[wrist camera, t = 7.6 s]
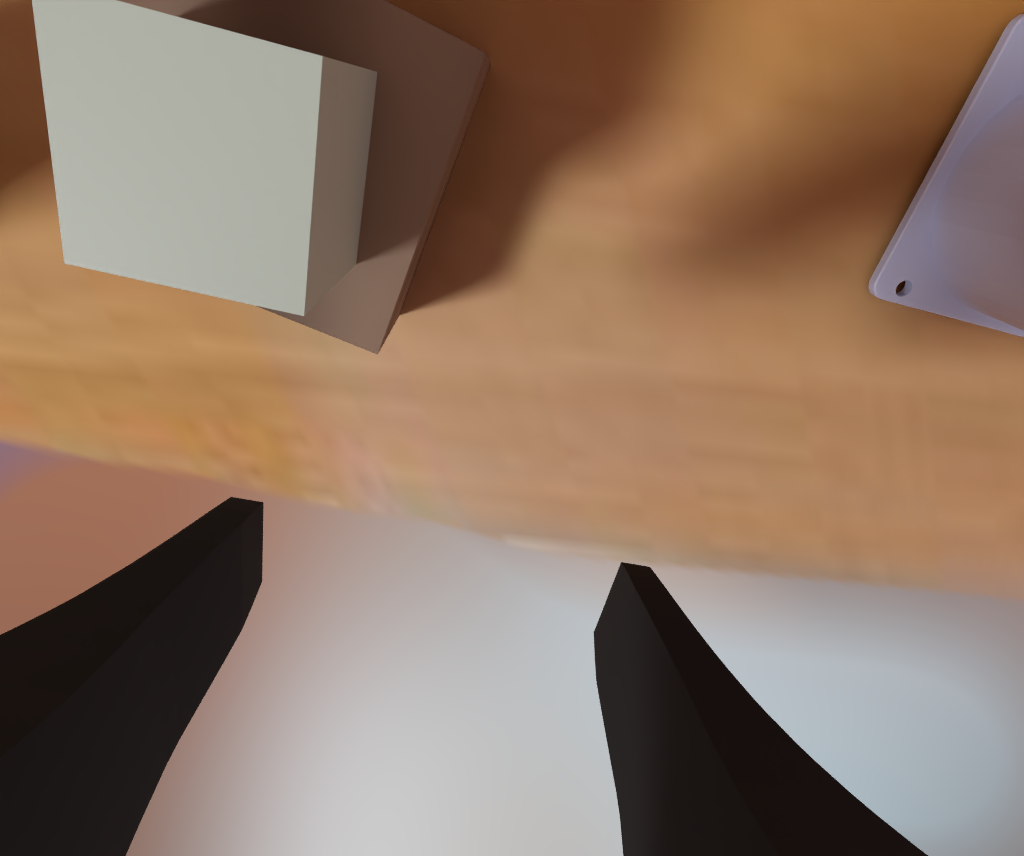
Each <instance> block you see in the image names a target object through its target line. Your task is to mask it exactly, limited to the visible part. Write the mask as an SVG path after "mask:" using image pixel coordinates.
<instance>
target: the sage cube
mask: <svg viewBox="0 0 1024 856" xmlns="http://www.w3.org/2000/svg"><path fill="white" fill-rule="evenodd" d="M32 6H33V14H34V22H35V30H36V38H37V46H38V54H39V62H40V70H41V78H42V86H43V94H44V102H45V110H46V119H47V127H48V135H49V143H50V151H51V159H52V167H53V175H54V183H55V191H56V199H57V207H58V215H59V223H60V231H61V240H62V248H63V256H64V263H65V264H70V265H74V266H79V267H83V268H88V269H92V270H97V271H101V272H106V273H110V274H115V275H120V276H124V277H129V278H133V279H138V280H142V281H147V282H151V283H156V284H160V285H165V286H169V287H174V288H178V289H183V290H187V291H192V292H197V293H201V294H206V295H210V296H215V297H219V298H224V299H228V300H233V301H237V302H242V303H246V304H251V305H255V306H260V307H264V308H269V309H273V310H278V311H283V312H287V313H292V314H296V315H301V316H305V315H306V314H307V313H308V312H309V311H310V310H311V309H312V308H313V307H314V306H315V305H316V304H317V303H318V302H319V301H320V300H321V299H322V298H323V297H324V296H325V295H326V294H327V293H328V292H329V291H330V290H331V289H332V288H333V287H334V286H335V285H336V284H337V283H338V282H339V281H340V280H341V279H342V278H343V277H344V276H345V275H346V274H347V273H348V272H349V271H350V270H351V269H352V268H353V267H354V266H355V265H356V262H357V253H358V244H359V235H360V226H361V217H362V208H363V199H364V190H365V181H366V172H367V163H368V153H369V144H370V135H371V126H372V117H373V108H374V99H375V90H376V81H377V72H376V71H373V70H369V69H366V68H362V67H359V66H355V65H352V64H348V63H345V62H341V61H338V60H334V59H331V58H327V57H324V56H320V55H317V54H313V53H309V52H306V51H302V50H298V49H295V48H291V47H287V46H283V45H280V44H276V43H272V42H269V41H265V40H261V39H258V38H254V37H250V36H247V35H243V34H239V33H236V32H232V31H228V30H224V29H221V28H217V27H213V26H210V25H206V24H202V23H199V22H195V21H191V20H188V19H184V18H180V17H177V16H173V15H169V14H165V13H162V12H158V11H154V10H151V9H147V8H143V7H140V6H136V5H132V4H129V3H125V2H121V1H118V0H32Z"/></svg>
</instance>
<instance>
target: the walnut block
mask: <svg viewBox="0 0 1024 856" xmlns="http://www.w3.org/2000/svg"><path fill="white" fill-rule="evenodd" d="M118 1H121V2H125V3H129V4H132V5H136V6H140V7H143V8H147V9H151V10H154V11H158V12H162V13H165V14H169V15H173V16H177V17H180V18H184V19H188V20H191V21H195V22H199V23H202V24H206V25H210V26H213V27H217V28H221V29H224V30H228V31H232V32H236V33H239V34H243V35H247V36H250V37H254V38H258V39H261V40H265V41H269V42H272V43H276V44H280V45H283V46H287V47H291V48H295V49H298V50H302V51H306V52H309V53H313V54H317V55H320V56H324V57H327V58H331V59H334V60H338V61H341V62H345V63H348V64H352V65H355V66H359V67H362V68H366V69H369V70H373V71H376V72H377V81H376V90H375V99H374V108H373V117H372V126H371V135H370V144H369V153H368V163H367V172H366V181H365V190H364V199H363V208H362V217H361V226H360V235H359V244H358V253H357V262H356V265H355V266H354V267H353V268H352V269H351V270H350V271H349V272H348V273H347V274H346V275H345V276H344V277H343V278H342V279H341V280H340V281H339V282H338V283H337V284H336V285H335V286H334V287H333V288H332V289H331V290H330V291H329V292H328V293H327V294H326V295H325V296H324V297H323V298H322V299H321V300H320V301H319V302H318V303H317V304H316V305H315V306H314V307H313V308H312V309H311V310H310V311H309V312H308V313H307V314H306V315H305V316H301V315H296V314H292V313H287V312H283V311H278V310H273V309H269V308H264V307H260V306H258V307H260V308H263V309H265V310H268V311H270V312H273V313H275V314H278V315H280V316H283V317H285V318H288V319H290V320H293V321H295V322H298V323H300V324H303V325H305V326H308V327H310V328H313V329H315V330H318V331H320V332H323V333H325V334H328V335H330V336H333V337H335V338H338V339H340V340H343V341H345V342H348V343H350V344H353V345H355V346H358V347H360V348H363V349H365V350H368V351H370V352H373V353H375V354H378V353H379V351H380V349H381V347H382V346H383V344H384V342H385V340H386V338H387V337H388V335H389V333H390V331H391V329H392V328H393V326H394V324H395V322H396V320H397V319H398V317H399V315H400V312H401V309H402V307H403V304H404V301H405V298H406V296H407V293H408V290H409V287H410V285H411V282H412V279H413V276H414V274H415V271H416V268H417V265H418V263H419V260H420V257H421V254H422V252H423V249H424V246H425V244H426V241H427V238H428V235H429V233H430V230H431V227H432V224H433V222H434V219H435V216H436V213H437V211H438V208H439V205H440V202H441V200H442V197H443V194H444V191H445V189H446V186H447V183H448V181H449V178H450V175H451V172H452V170H453V167H454V164H455V161H456V159H457V156H458V153H459V150H460V148H461V145H462V142H463V139H464V137H465V134H466V131H467V128H468V126H469V123H470V120H471V118H472V115H473V112H474V109H475V107H476V104H477V101H478V98H479V96H480V93H481V90H482V87H483V85H484V82H485V79H486V76H487V74H488V71H489V68H490V65H491V64H490V62H489V59H488V57H487V55H486V53H485V52H483V51H481V50H479V49H478V48H476V47H474V46H472V45H470V44H468V43H466V42H464V41H462V40H460V39H458V38H456V37H455V36H453V35H451V34H449V33H447V32H445V31H443V30H441V29H439V28H437V27H435V26H434V25H432V24H430V23H428V22H426V21H424V20H422V19H420V18H418V17H416V16H414V15H412V14H411V13H409V12H407V11H405V10H403V9H401V8H399V7H397V6H395V5H393V4H391V3H390V2H388V1H386V0H118Z"/></svg>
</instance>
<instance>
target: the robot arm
mask: <svg viewBox="0 0 1024 856" xmlns="http://www.w3.org/2000/svg"><path fill="white" fill-rule="evenodd" d="M902 281H905V286H904V288H903V289H902V290H901V291H900V292H898V293H896V287H897V286H898V284H899V283H901V282H902ZM869 291H870V292H871V294H872V295H874V296H876V297H878V298H880V299H882V300H886V301H890V302H894V303H897V304H901V305H905V306H909V307H912V308H916V309H920V310H924V311H927V312H931V313H935V314H939V315H942V316H946V317H950V318H954V319H957V320H961V321H965V322H969V323H972V324H976V325H980V326H984V327H987V328H991V329H995V330H999V331H1002V332H1006V333H1010V334H1014V335H1017V336H1021V337H1024V13H1023V14H1020V15H1018V16H1016V17H1015V18H1014V19H1013V20H1011V21H1010V23H1009V24H1008V25H1007V27H1006V28H1005V30H1004V31H1003V33H1002V35H1001V37H1000V39H999V41H998V43H997V44H996V46H995V48H994V50H993V52H992V54H991V56H990V57H989V59H988V61H987V63H986V65H985V67H984V69H983V70H982V72H981V74H980V76H979V78H978V80H977V82H976V83H975V85H974V87H973V89H972V91H971V93H970V95H969V96H968V98H967V100H966V102H965V104H964V106H963V108H962V109H961V111H960V113H959V115H958V117H957V119H956V121H955V122H954V124H953V126H952V128H951V130H950V132H949V134H948V135H947V137H946V139H945V141H944V143H943V145H942V147H941V148H940V150H939V152H938V154H937V156H936V158H935V160H934V161H933V163H932V165H931V167H930V169H929V171H928V173H927V175H926V176H925V178H924V180H923V182H922V184H921V186H920V188H919V189H918V191H917V193H916V195H915V197H914V199H913V201H912V202H911V204H910V206H909V208H908V210H907V212H906V214H905V215H904V217H903V219H902V221H901V223H900V225H899V227H898V228H897V230H896V232H895V234H894V236H893V238H892V240H891V241H890V243H889V245H888V247H887V249H886V251H885V253H884V254H883V256H882V258H881V260H880V262H879V264H878V266H877V267H876V269H875V271H874V273H873V275H872V277H871V279H870V282H869ZM262 550H263V502H258V501H252V500H245V499H239V498H233V497H230V498H229V499H227V500H226V501H224V502H223V503H221V504H220V505H218V506H217V507H215V508H214V509H212V510H211V511H209V512H208V513H206V514H205V515H204V516H202V517H201V518H199V519H198V520H196V521H195V522H194V523H192V524H190V525H189V526H188V527H186V528H185V529H183V530H181V531H180V532H179V533H177V534H176V535H174V536H173V537H171V538H170V539H168V540H167V541H165V542H164V543H162V544H161V545H159V546H157V547H156V548H154V549H153V550H151V551H150V552H148V553H147V554H145V555H144V556H142V557H141V558H139V559H138V560H136V561H134V562H133V563H131V564H130V565H128V566H126V567H125V568H123V569H122V570H120V571H118V572H117V573H115V574H113V575H111V576H110V577H108V578H106V579H105V580H103V581H101V582H100V583H98V584H96V585H95V586H93V587H91V588H90V589H88V590H86V591H85V592H83V593H81V594H79V595H78V596H76V597H74V598H72V599H70V600H69V601H67V602H65V603H63V604H61V605H59V606H57V607H56V608H54V609H52V610H50V611H48V612H46V613H44V614H42V615H40V616H38V617H36V618H34V619H32V620H30V621H28V622H26V623H24V624H22V625H20V626H18V627H16V628H14V629H12V630H10V631H8V632H5V633H3V634H1V635H0V856H126V853H127V851H128V849H129V846H130V844H131V842H132V840H133V837H134V835H135V833H136V831H137V828H138V826H139V823H140V821H141V819H142V817H143V815H144V813H145V810H146V808H147V806H148V804H149V802H150V799H151V797H152V795H153V793H154V791H155V788H156V786H157V784H158V782H159V780H160V778H161V775H162V773H163V771H164V769H165V767H166V764H167V762H168V761H169V759H170V757H171V755H172V753H173V751H174V749H175V747H176V745H177V743H178V741H179V739H180V738H181V736H182V734H183V732H184V731H185V729H186V727H187V725H188V724H189V722H190V720H191V718H192V717H193V715H194V713H195V711H196V709H197V708H198V706H199V704H200V703H201V701H202V699H203V697H204V696H205V694H206V692H207V690H208V689H209V687H210V685H211V683H212V682H213V680H214V678H215V676H216V675H217V673H218V671H219V669H220V668H221V666H222V664H223V662H224V661H225V659H226V657H227V655H228V654H229V652H230V650H231V648H232V646H233V645H234V643H235V641H236V639H237V637H238V636H239V634H240V632H241V630H242V628H243V626H244V624H245V621H246V619H247V617H248V614H249V612H250V610H251V607H252V605H253V602H254V600H255V597H256V595H257V592H258V590H259V587H260V585H261V583H262ZM594 647H595V666H596V681H597V687H598V693H599V698H600V704H601V710H602V716H603V721H604V727H605V732H606V738H607V743H608V748H609V754H610V760H611V765H612V771H613V776H614V781H615V787H616V792H617V799H618V806H619V813H620V821H621V832H622V844H623V854H624V856H928V855H926V854H925V853H924V852H922V851H921V850H920V849H918V848H917V847H916V846H915V845H913V844H912V843H911V842H910V841H908V840H907V839H906V838H904V837H903V836H902V835H901V834H899V833H898V832H897V831H896V830H895V829H893V828H892V827H891V826H890V825H888V824H887V823H886V822H884V821H883V820H882V819H881V818H880V817H878V816H877V815H876V814H875V813H874V812H872V811H871V810H870V809H869V808H867V807H866V806H865V805H864V804H863V803H862V802H860V801H859V800H858V799H857V798H856V797H854V796H853V795H852V794H851V793H850V792H849V791H848V790H846V789H845V788H844V787H843V786H842V785H841V784H840V783H839V782H838V781H837V780H835V779H834V778H833V777H832V776H831V775H830V774H829V773H828V772H827V771H825V770H824V769H823V768H822V767H821V766H820V765H819V764H818V763H816V762H815V761H814V760H813V759H812V758H811V757H810V756H809V755H808V754H807V753H806V752H805V751H804V750H803V749H802V748H801V747H800V746H799V745H798V744H796V742H794V741H793V739H792V738H791V737H789V735H788V734H787V733H786V732H785V731H784V730H783V729H782V728H781V727H780V726H779V725H778V724H777V723H776V722H775V721H774V720H773V719H772V718H771V717H770V716H769V715H768V714H767V713H766V712H765V711H764V710H763V708H762V707H761V706H760V705H759V704H758V703H757V702H756V701H755V700H754V699H753V698H752V696H751V695H750V694H749V693H748V692H747V691H746V690H745V688H744V687H743V686H742V685H741V684H740V683H739V681H738V680H737V679H736V678H735V677H734V676H733V674H732V673H731V672H730V671H729V670H728V669H727V667H726V666H725V665H724V664H723V663H722V661H721V660H720V659H719V658H718V656H717V655H716V654H715V653H714V652H713V650H712V649H711V648H710V646H709V645H708V644H707V643H706V641H705V640H704V639H703V637H702V636H701V635H700V633H699V632H698V631H697V630H696V628H695V627H694V626H693V624H692V623H691V622H690V620H689V619H688V618H687V616H686V615H685V614H684V612H683V611H682V610H681V608H680V607H679V605H678V604H677V603H676V602H675V600H674V599H673V598H672V596H671V595H670V593H669V592H668V591H667V589H666V588H665V587H664V585H663V584H662V582H661V581H660V580H659V578H658V577H657V576H656V574H655V573H654V572H653V570H652V569H651V568H650V567H647V566H641V565H635V564H629V563H623V562H621V564H620V567H619V570H618V572H617V575H616V577H615V580H614V582H613V585H612V588H611V590H610V593H609V595H608V598H607V600H606V603H605V606H604V608H603V611H602V613H601V616H600V618H599V621H598V624H597V626H596V628H595V631H594Z"/></svg>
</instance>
